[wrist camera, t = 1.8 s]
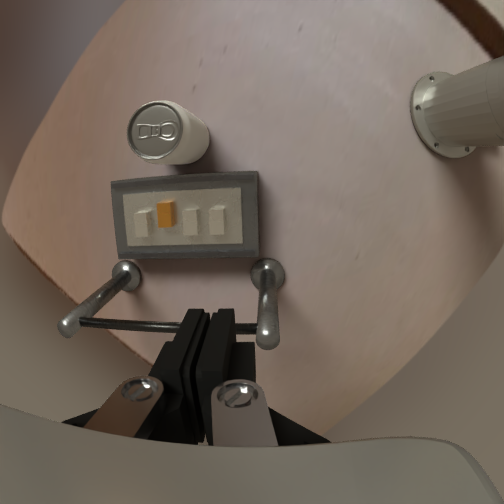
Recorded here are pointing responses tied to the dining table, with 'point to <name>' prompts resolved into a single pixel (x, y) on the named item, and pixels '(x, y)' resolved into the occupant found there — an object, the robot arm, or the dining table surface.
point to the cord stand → (129, 277)
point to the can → (167, 134)
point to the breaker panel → (187, 216)
